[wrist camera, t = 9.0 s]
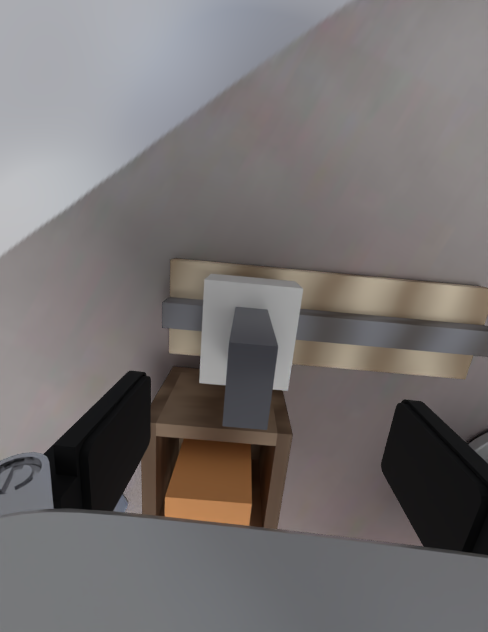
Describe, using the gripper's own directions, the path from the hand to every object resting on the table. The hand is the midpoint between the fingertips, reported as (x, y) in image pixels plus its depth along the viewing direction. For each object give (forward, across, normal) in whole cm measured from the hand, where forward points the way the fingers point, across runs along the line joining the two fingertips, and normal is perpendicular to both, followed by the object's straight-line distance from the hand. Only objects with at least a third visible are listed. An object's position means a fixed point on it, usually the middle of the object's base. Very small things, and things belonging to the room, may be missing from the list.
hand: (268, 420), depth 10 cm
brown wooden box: (+14, +3, +10) cm, 18 cm away
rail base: (+14, -5, -1) cm, 15 cm away
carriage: (+10, +1, -1) cm, 10 cm away
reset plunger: (+9, +3, +10) cm, 14 cm away
